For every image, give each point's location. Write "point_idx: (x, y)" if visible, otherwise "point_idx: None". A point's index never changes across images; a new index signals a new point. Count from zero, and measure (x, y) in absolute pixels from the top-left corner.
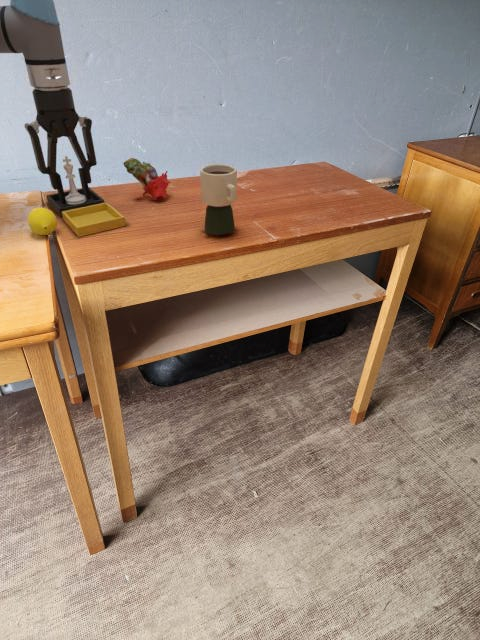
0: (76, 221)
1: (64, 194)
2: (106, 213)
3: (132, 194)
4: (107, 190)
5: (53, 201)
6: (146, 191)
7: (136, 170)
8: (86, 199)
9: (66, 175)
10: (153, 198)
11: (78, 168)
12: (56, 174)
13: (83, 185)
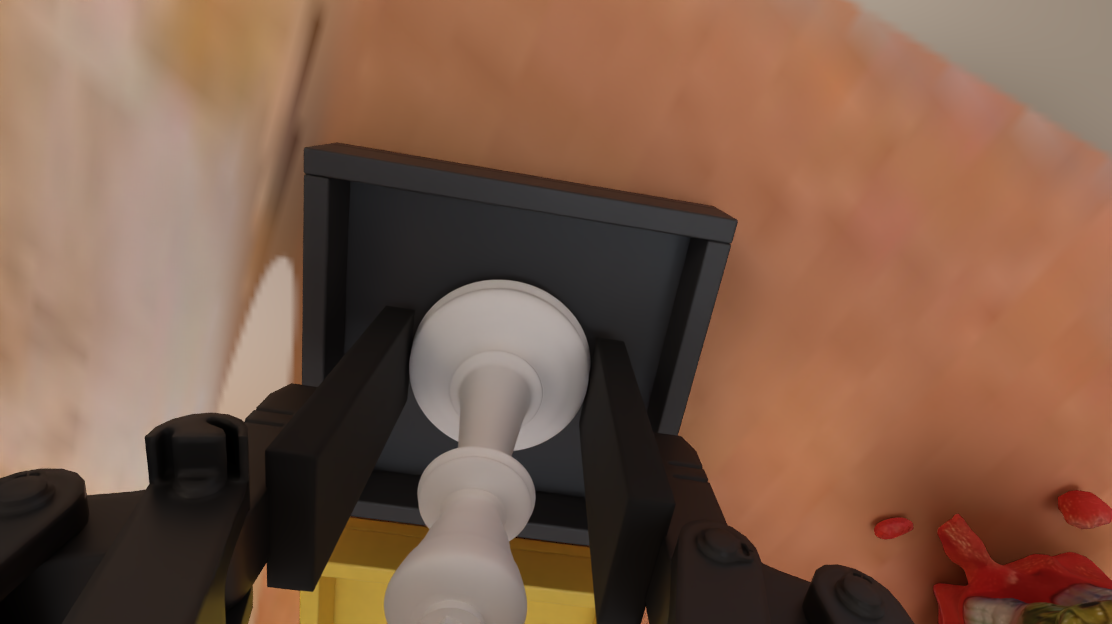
0: (370, 609)
1: (384, 444)
2: (572, 615)
3: (946, 411)
4: (895, 194)
5: (312, 348)
6: (958, 616)
7: None
8: (611, 327)
9: (439, 479)
10: (941, 607)
11: (631, 505)
12: (279, 549)
13: (593, 454)
